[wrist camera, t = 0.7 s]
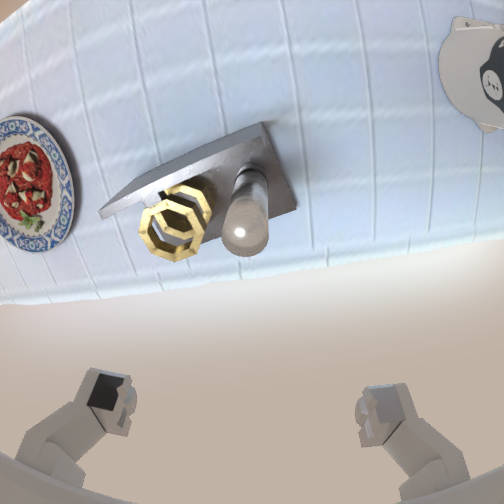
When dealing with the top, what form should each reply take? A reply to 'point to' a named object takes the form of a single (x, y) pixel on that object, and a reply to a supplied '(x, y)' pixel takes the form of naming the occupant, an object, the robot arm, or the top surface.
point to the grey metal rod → (247, 213)
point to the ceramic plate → (33, 187)
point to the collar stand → (200, 192)
